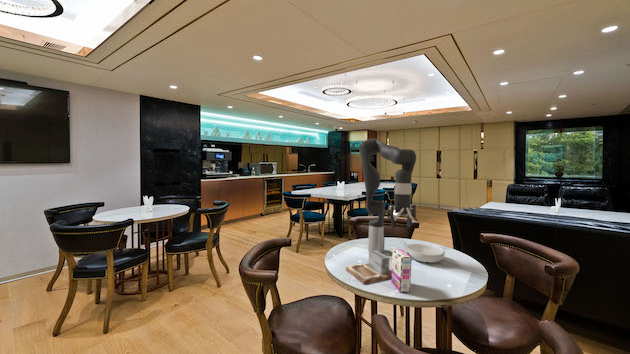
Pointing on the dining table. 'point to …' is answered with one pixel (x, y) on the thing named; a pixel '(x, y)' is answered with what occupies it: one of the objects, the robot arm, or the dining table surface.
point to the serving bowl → (425, 252)
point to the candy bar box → (401, 270)
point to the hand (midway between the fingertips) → (401, 227)
